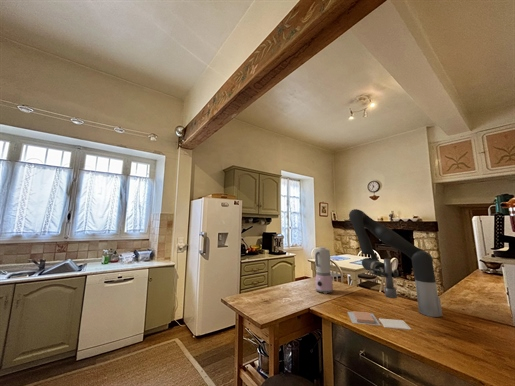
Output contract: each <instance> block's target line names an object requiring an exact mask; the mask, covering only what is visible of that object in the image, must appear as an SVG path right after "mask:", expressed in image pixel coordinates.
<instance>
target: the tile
mask: <svg viewBox="0 0 515 386" xmlns="http://www.w3.org/2000/svg"><path fill="white" fill-rule="evenodd" d="M352 312H353V315H354V317H355V319H356V321H357V322H359V323H370V324H375V321H374V319H373V318H372V316H371V315H370V312H368V311H367V312H366V311H354V310H353V311H352ZM359 323H358V324H359ZM370 324H369V325H370Z"/></svg>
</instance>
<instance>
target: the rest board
mask: <svg viewBox="0 0 515 386" xmlns="http://www.w3.org/2000/svg"><path fill="white" fill-rule="evenodd" d="M378 321H379V323H380V324H381V325H382V326H383V327H384V328H385V329H397V330H406V331H407V330H409V331H412V328H411V327H410V326H409V325H408V324H407V323H406V322H405V321H404V320H402V319H390V318H389V319H387V318H378Z"/></svg>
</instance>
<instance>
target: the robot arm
mask: <svg viewBox="0 0 515 386" xmlns="http://www.w3.org/2000/svg"><path fill="white" fill-rule="evenodd" d="M348 218H349V220H350V222H351V224H352V226H353V228H354V231H355V234H356V237H357V241H358V244H359V248H360V250H361V253H362V254H363V255H369V256H370V257H366V258H363V259H362V260H361V266H362V267H363V269H364V270H366V271H369V272H370V274H372V275H375V276H378V277H379V278H385V279H386V278H388V274H387V273H386V272H385V267H384V262H382V261H380V260H379V258H378V256H377V254H376V253H375V251H374V248H373V245H372V242H371V239H370V237H369V235H368V232H367V231H366V229H367V230H368V231H369V232H370V233H371V234H372V235H374V236H375V237H376V239H378V240H379V241H381V242H382V243H384V244H385V245H387V246H389V247H391V248H393V249H395V250H397V251H399V252H401V253H403V254H404V255H405V256H407V257H408V258H409V259H410V260H411V265H412V271H413V273H412V274H413V276H414V282H415V291H416V299H417V307H418V309H417V310H418V312H419V313H420V314H422V315H424V316H427V317H434V318H439V317H443V310H442V304H441V297H440V296H438V295H439V294H438V288H437V287H438V286H437V280H436V276H435V269H434V263H433V262H434V259H433V256H432V255H431V254H430V253H428V252H427V251H425V250H423V249H421V248H419V247H417V246H416V245H414V244H413V243H411V242H410V241H408V240H406V239H405V238H404V237H403V236H401V235H399V234H398V233H397V232H395V231H394V230H392V229H391V228H389V227H388V226H386V225H384V224H382V223H380V222H378V221H377V220H374V219H373V218H371V217H370V216H369V215H368V214H367V213H365V212H364V211H363V210H360V209H357V208H356V209H355V208H353V209H351V210H350V211H349V214H348ZM365 228H366V229H365ZM398 276H399V270H398V269H393V270H392V278H393V279H397V277H398Z"/></svg>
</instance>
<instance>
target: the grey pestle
mask: <svg viewBox="0 0 515 386" xmlns="http://www.w3.org/2000/svg"><path fill="white" fill-rule="evenodd" d="M391 260H392V259H391V258H384V259H383V263H384V267H385V272H386V273H387V274H388V278H386V277H385V285H386V286H384V296H385V297H386V298H388V299H397V298H398V296H397V295H398V294H397V288H396V287H394V280H393V279H394V278H393V277H392V271H393V269H392V261H391Z"/></svg>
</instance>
